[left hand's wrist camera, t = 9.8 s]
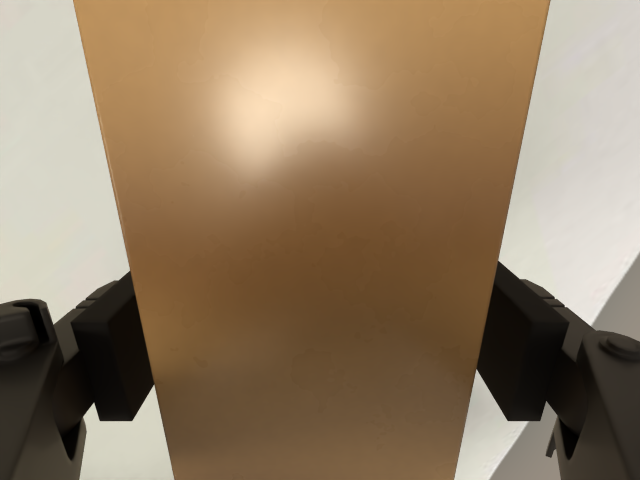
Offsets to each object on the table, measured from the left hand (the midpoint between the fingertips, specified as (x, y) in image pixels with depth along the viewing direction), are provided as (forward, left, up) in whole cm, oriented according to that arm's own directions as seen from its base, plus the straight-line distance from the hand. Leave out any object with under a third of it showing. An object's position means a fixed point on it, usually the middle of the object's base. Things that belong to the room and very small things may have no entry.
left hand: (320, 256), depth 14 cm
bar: (+9, +2, -1) cm, 9 cm away
